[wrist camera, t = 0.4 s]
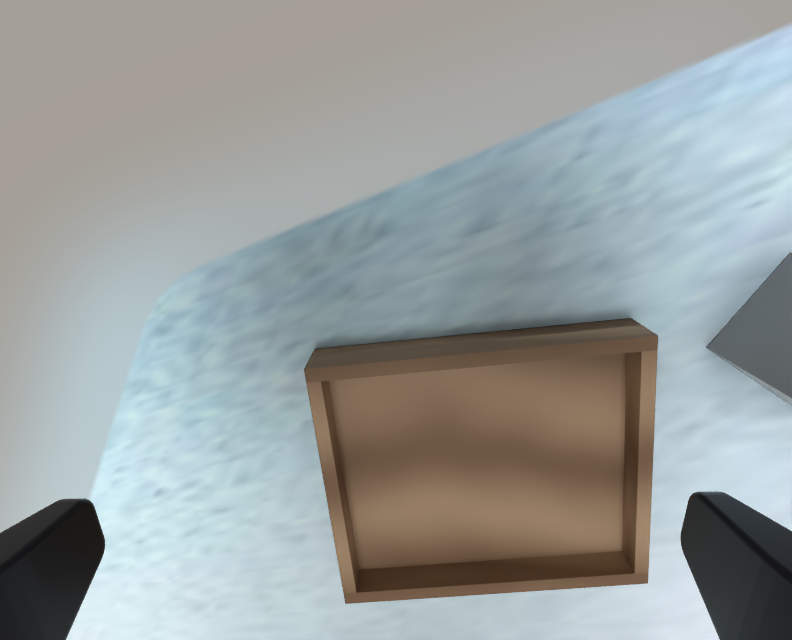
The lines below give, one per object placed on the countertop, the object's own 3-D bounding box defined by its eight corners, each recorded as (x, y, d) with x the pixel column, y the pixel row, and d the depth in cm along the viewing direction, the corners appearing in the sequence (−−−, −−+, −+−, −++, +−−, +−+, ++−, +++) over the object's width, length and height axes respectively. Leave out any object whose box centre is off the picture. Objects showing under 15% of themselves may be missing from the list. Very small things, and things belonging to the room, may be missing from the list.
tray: (625, 545, 25) (647, 583, 23) (351, 565, 26) (345, 603, 23) (631, 318, 22) (658, 335, 19) (314, 349, 22) (304, 369, 20)
